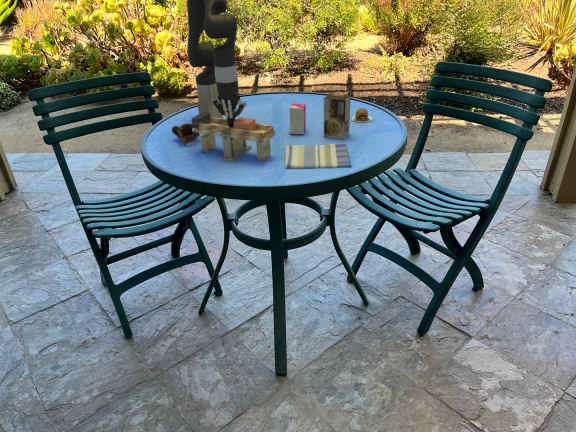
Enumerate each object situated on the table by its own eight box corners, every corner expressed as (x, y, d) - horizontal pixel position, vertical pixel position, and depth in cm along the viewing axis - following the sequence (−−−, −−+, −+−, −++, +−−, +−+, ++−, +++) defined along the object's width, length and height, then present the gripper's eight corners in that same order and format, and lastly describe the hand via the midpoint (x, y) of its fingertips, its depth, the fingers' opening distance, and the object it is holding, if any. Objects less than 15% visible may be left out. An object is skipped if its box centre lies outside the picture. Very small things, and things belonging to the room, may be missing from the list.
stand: (197, 155, 158) (192, 130, 153) (215, 142, 168) (212, 118, 162) (259, 166, 148) (256, 140, 143) (274, 151, 158) (273, 126, 153)
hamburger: (381, 121, 182) (382, 109, 179) (359, 127, 177) (360, 115, 174) (363, 114, 191) (364, 102, 188) (342, 119, 186) (342, 107, 183)
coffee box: (349, 134, 170) (351, 94, 161) (344, 140, 165) (346, 99, 156) (328, 131, 173) (329, 92, 165) (323, 137, 168) (323, 97, 160)
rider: (234, 132, 150) (233, 121, 148) (241, 127, 154) (240, 116, 152) (249, 134, 148) (248, 123, 146) (256, 129, 152) (255, 118, 150)
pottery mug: (204, 137, 175) (202, 124, 168) (196, 154, 170) (194, 142, 163) (176, 129, 175) (174, 116, 168) (167, 146, 171) (164, 133, 163)
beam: (193, 131, 156) (191, 118, 153) (205, 124, 162) (203, 111, 159) (265, 143, 145) (264, 128, 142) (275, 134, 151) (274, 120, 148)
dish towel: (285, 149, 161) (285, 143, 159) (347, 148, 159) (347, 141, 158) (283, 170, 146) (283, 163, 145) (351, 169, 145) (351, 162, 143)
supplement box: (304, 135, 171) (303, 108, 164) (289, 135, 172) (288, 107, 165) (306, 130, 175) (305, 103, 169) (292, 129, 176) (291, 103, 170)
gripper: (204, 80, 142) (211, 128, 152) (237, 83, 138) (242, 133, 147) (216, 74, 148) (222, 121, 158) (248, 77, 143) (252, 125, 153)
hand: (232, 126), depth 152 cm, fingers closed
